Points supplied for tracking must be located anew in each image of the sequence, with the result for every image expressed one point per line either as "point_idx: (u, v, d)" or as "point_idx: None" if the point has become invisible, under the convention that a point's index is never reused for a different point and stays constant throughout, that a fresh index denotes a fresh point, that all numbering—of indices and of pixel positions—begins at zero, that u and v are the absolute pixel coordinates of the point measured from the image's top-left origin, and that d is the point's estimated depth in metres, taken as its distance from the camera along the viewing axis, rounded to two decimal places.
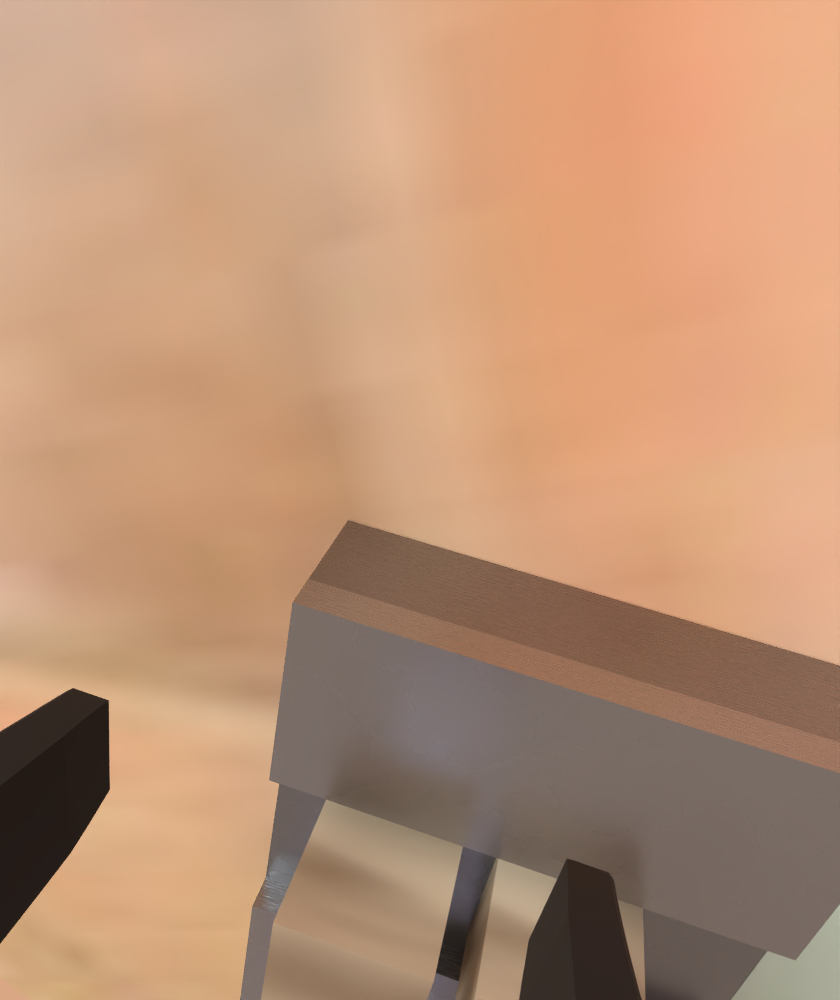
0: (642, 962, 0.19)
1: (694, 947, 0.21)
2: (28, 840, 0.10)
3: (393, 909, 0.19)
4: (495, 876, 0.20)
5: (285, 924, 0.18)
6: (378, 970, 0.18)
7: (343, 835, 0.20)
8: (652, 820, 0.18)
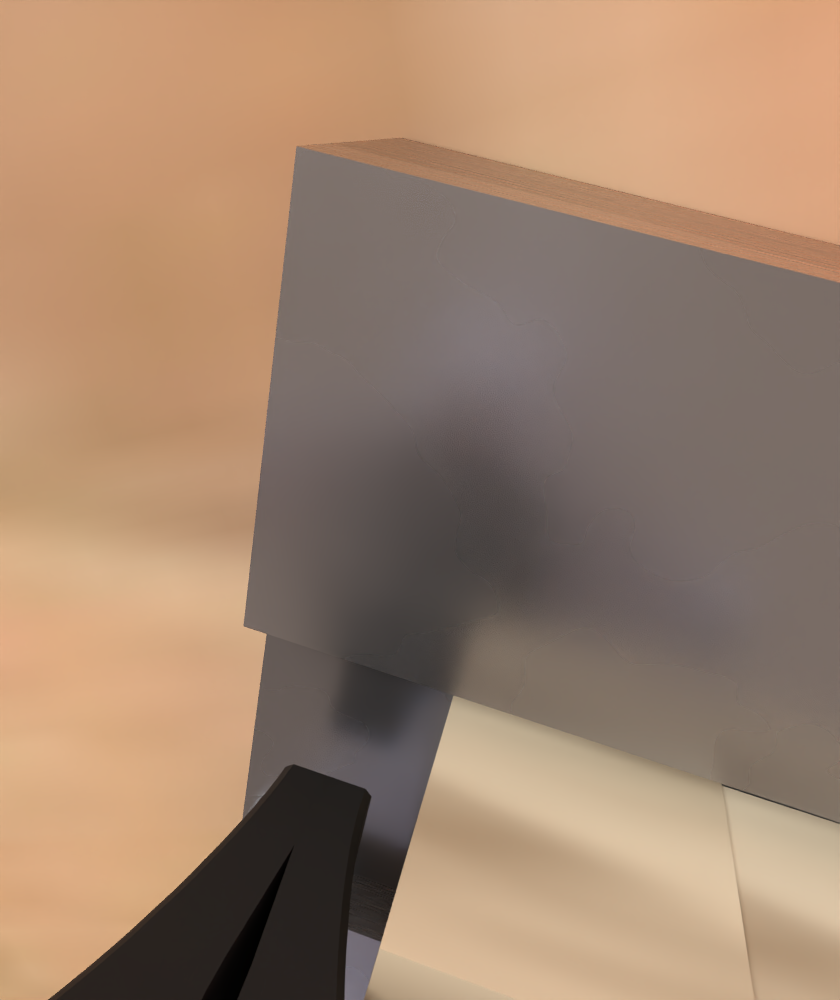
0: None
1: None
2: None
3: (630, 919, 0.09)
4: None
5: (407, 955, 0.08)
6: None
7: (495, 770, 0.10)
8: None
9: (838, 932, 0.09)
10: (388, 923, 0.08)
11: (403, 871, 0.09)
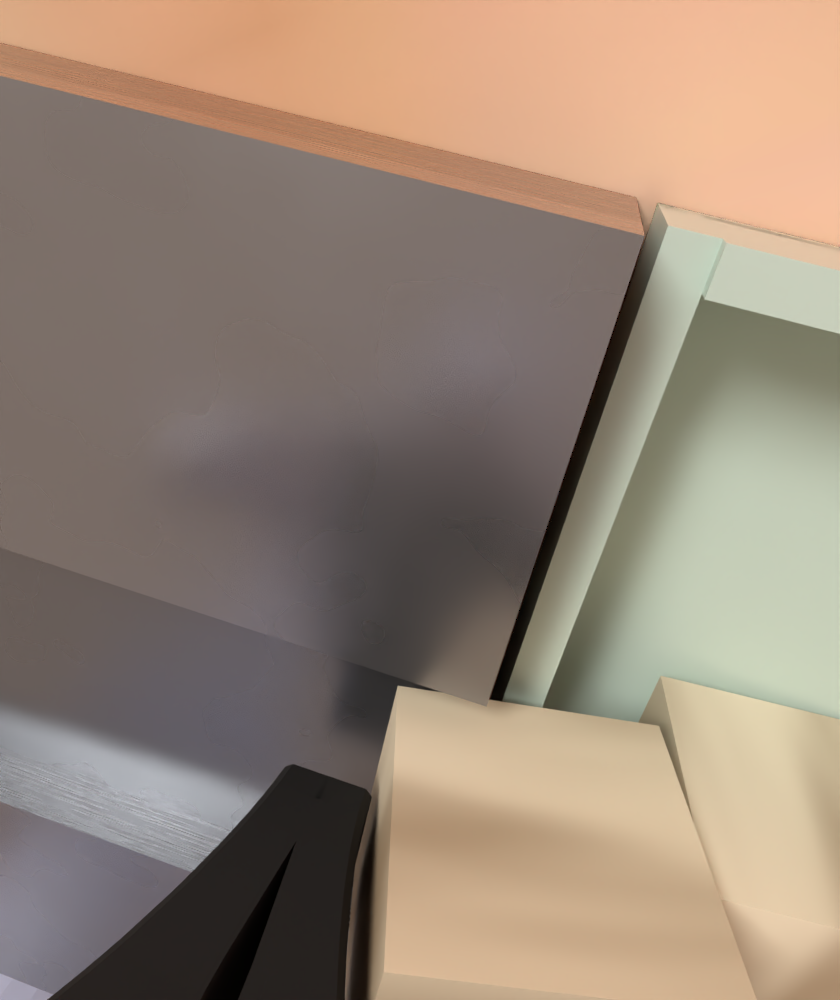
0: (766, 703, 0.12)
1: (365, 728, 0.12)
2: None
3: (611, 881, 0.09)
4: (775, 914, 0.09)
5: (412, 971, 0.07)
6: None
7: (455, 759, 0.10)
8: (175, 402, 0.09)
9: (819, 841, 0.10)
10: (386, 942, 0.08)
11: (389, 884, 0.08)
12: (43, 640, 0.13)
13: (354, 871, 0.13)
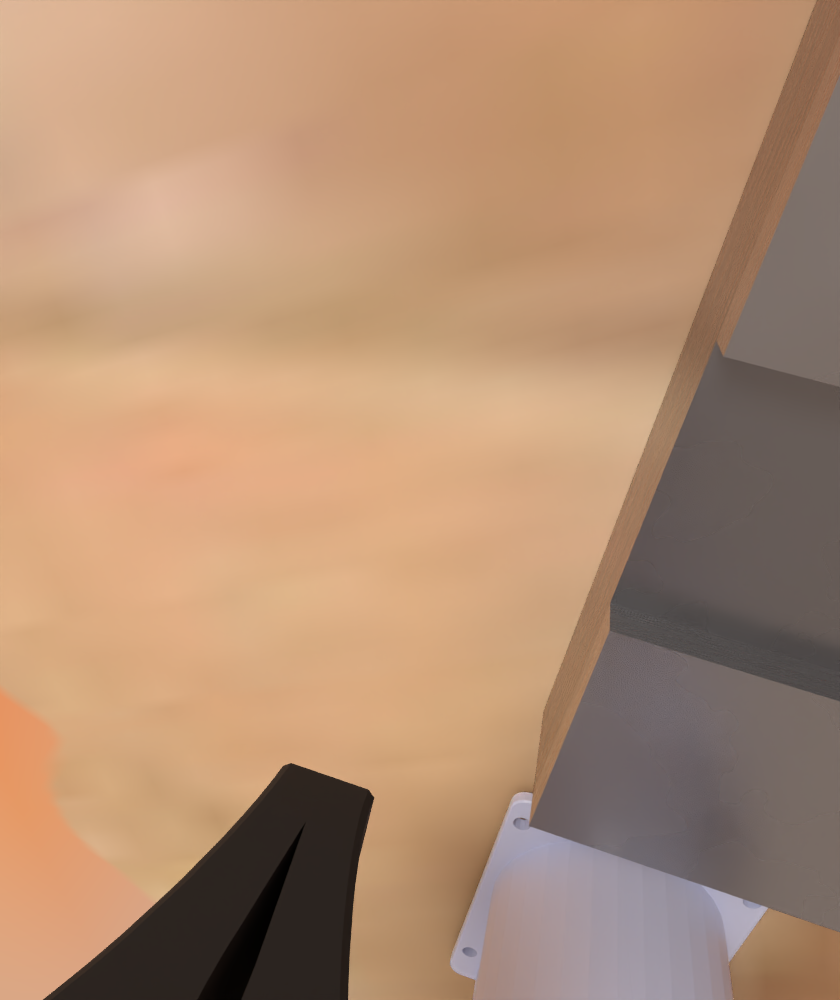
0: None
1: None
2: None
3: None
4: None
5: None
6: None
7: None
8: None
9: None
10: None
11: None
12: None
13: None
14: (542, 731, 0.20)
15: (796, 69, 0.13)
